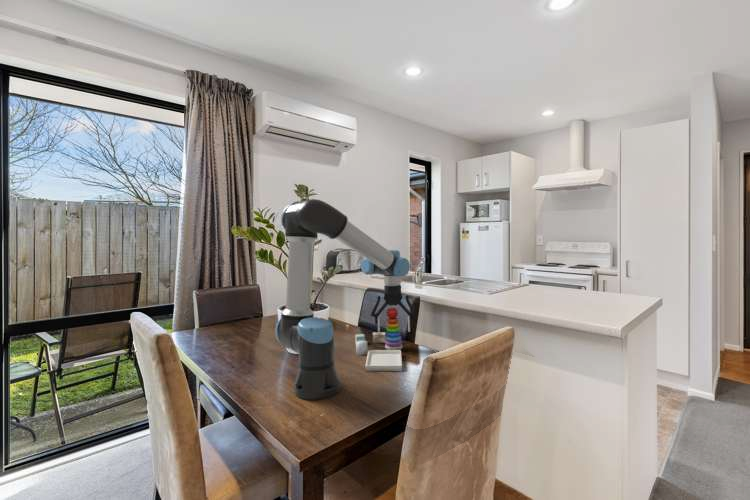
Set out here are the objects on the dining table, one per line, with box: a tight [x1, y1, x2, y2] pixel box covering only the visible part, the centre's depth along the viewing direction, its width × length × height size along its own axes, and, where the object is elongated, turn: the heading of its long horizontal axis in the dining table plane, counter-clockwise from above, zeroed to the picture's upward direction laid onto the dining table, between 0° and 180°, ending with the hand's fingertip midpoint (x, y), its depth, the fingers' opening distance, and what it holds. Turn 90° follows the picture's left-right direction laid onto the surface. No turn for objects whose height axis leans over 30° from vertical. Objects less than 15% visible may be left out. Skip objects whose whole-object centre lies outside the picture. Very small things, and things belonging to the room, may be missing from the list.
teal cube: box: [354, 333, 366, 344], centre depth 169 cm, size 4×4×4 cm
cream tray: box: [364, 349, 403, 372], centre depth 144 cm, size 14×18×2 cm
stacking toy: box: [384, 306, 403, 351], centre depth 160 cm, size 8×8×19 cm
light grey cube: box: [355, 340, 369, 356], centre depth 155 cm, size 5×5×5 cm
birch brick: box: [372, 331, 386, 344], centre depth 172 cm, size 6×4×4 cm, turn 89°
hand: (393, 331), depth 160 cm, fingers open, 13 cm apart
